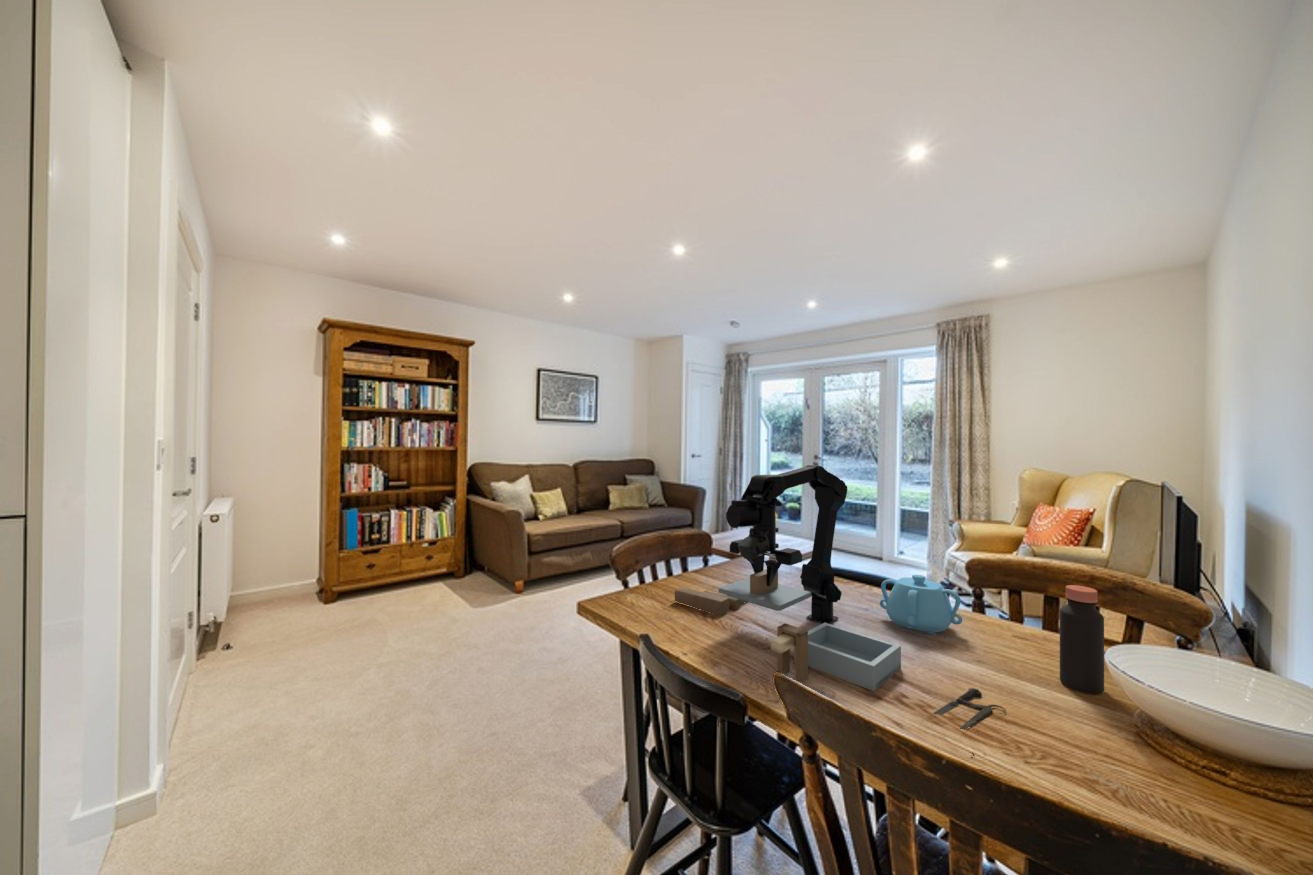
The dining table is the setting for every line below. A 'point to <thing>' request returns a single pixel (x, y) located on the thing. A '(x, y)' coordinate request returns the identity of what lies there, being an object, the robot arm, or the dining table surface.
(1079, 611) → the bottle
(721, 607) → the wooden block set
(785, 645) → the wooden key
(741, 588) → the lid
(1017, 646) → the dining table surface
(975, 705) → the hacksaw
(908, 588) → the decorative pot
